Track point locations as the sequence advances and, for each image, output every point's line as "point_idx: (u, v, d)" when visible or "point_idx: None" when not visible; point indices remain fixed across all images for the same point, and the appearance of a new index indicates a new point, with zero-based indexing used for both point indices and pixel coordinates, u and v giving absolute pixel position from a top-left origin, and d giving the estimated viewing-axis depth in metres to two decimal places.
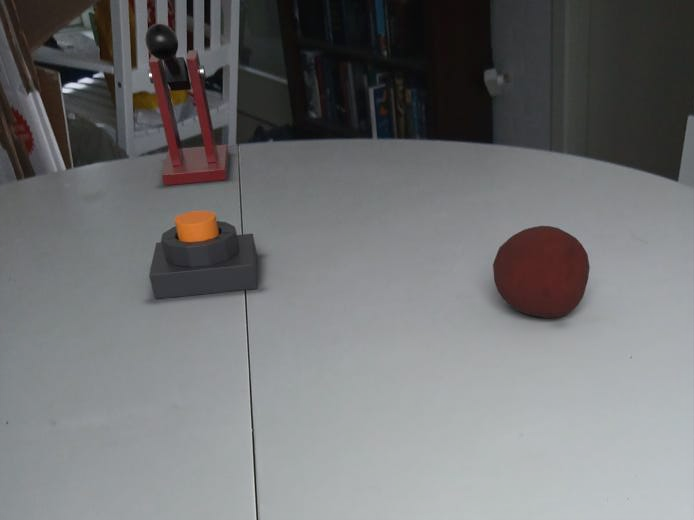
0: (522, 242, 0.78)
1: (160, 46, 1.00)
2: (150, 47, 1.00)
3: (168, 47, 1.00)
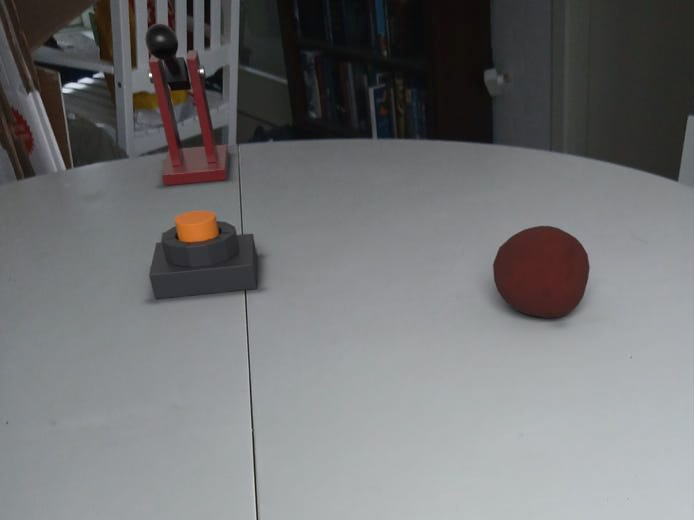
0: (522, 242, 0.78)
1: (160, 46, 1.00)
2: (150, 47, 1.00)
3: (168, 47, 1.00)
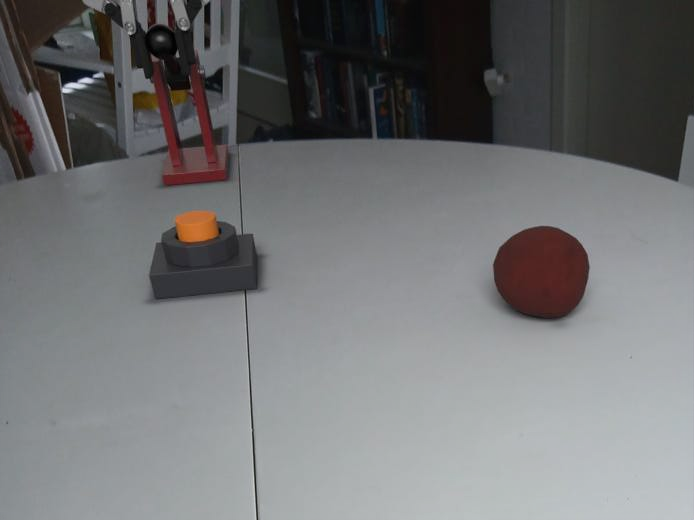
0: (522, 242, 0.78)
1: (160, 46, 1.00)
2: (150, 47, 1.00)
3: (168, 47, 1.00)
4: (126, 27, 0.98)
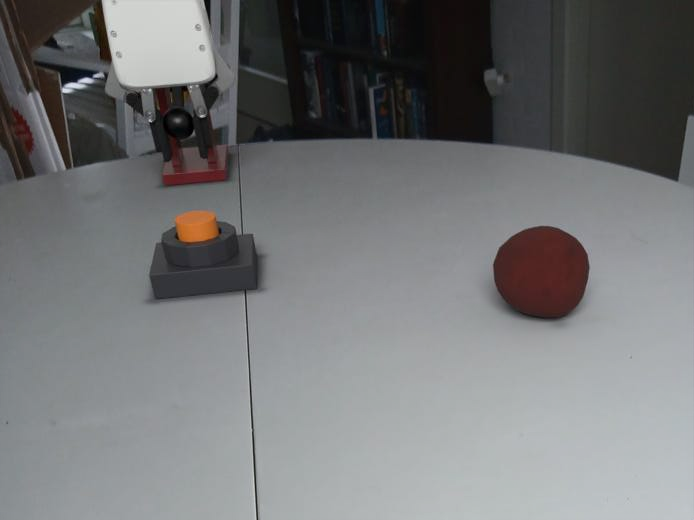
0: (522, 242, 0.78)
1: (180, 138, 1.05)
2: (170, 135, 1.05)
3: (187, 137, 1.05)
4: (146, 115, 1.03)
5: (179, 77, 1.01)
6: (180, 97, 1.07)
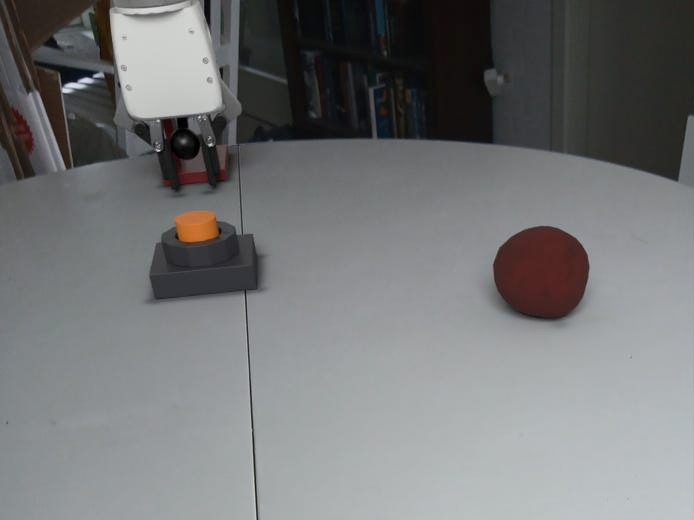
0: (522, 242, 0.78)
1: None
2: None
3: (194, 157, 1.08)
4: (154, 145, 1.06)
5: (187, 108, 1.04)
6: None
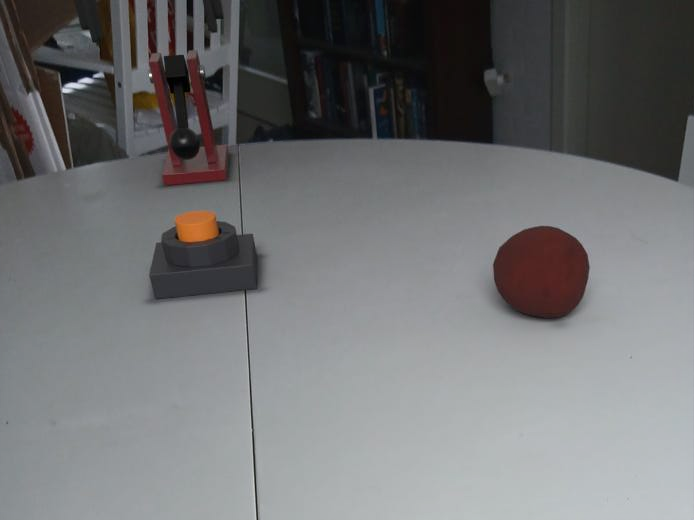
0: (522, 242, 0.78)
1: (187, 159, 1.08)
2: (176, 155, 1.08)
3: (193, 157, 1.08)
4: None
5: None
6: (184, 109, 1.08)
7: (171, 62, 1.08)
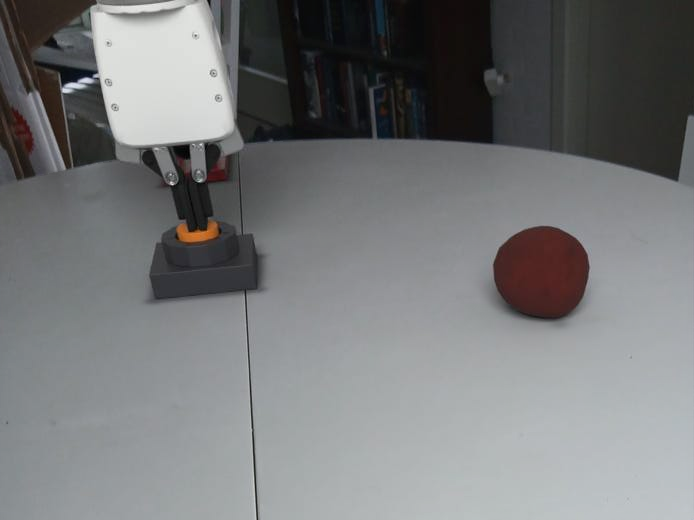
0: (522, 242, 0.78)
1: (187, 159, 1.08)
2: (176, 155, 1.08)
3: None
4: (167, 177, 0.84)
5: (190, 133, 0.81)
6: None
7: None
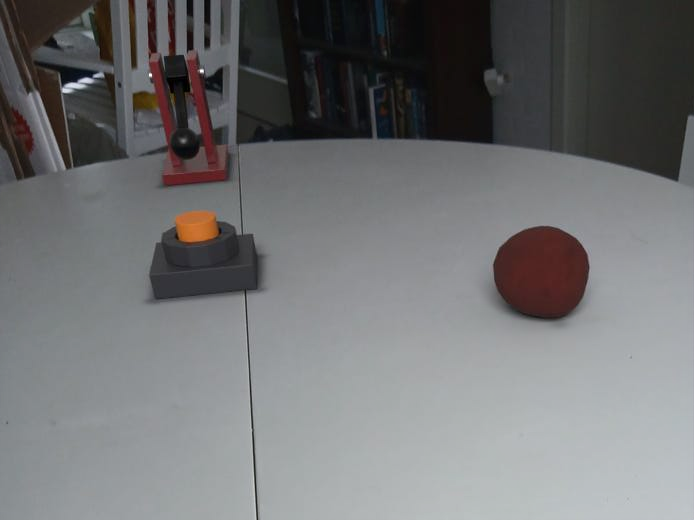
0: (522, 242, 0.78)
1: (187, 159, 1.08)
2: (176, 155, 1.08)
3: (193, 157, 1.08)
4: None
5: None
6: (184, 109, 1.08)
7: (171, 62, 1.08)
